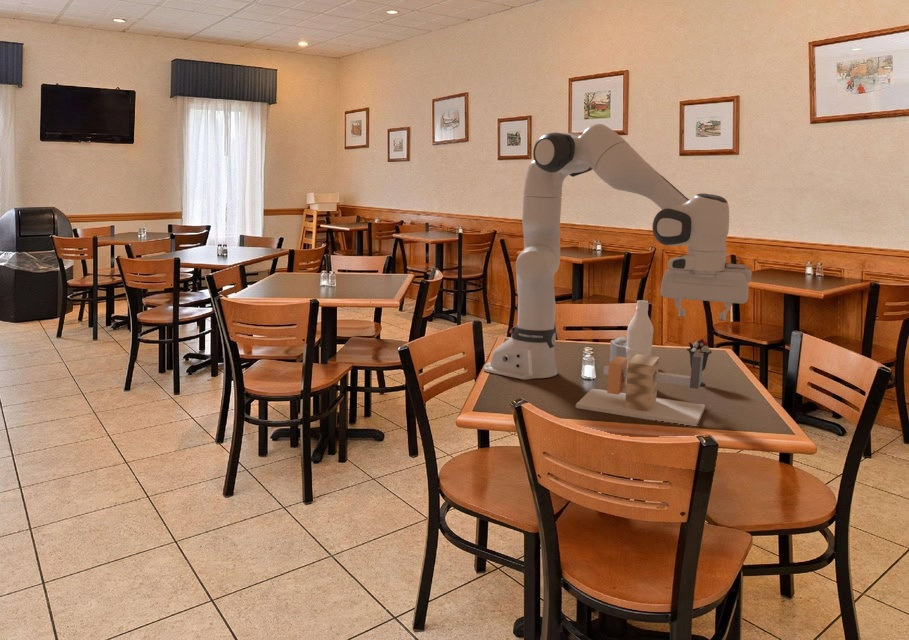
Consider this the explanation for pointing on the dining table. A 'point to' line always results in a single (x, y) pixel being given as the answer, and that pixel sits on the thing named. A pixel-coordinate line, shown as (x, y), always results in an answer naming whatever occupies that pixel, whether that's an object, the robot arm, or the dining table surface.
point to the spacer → (616, 375)
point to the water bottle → (639, 333)
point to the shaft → (690, 381)
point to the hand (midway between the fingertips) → (701, 318)
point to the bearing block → (641, 382)
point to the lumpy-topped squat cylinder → (618, 348)
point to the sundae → (701, 348)
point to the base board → (659, 411)
